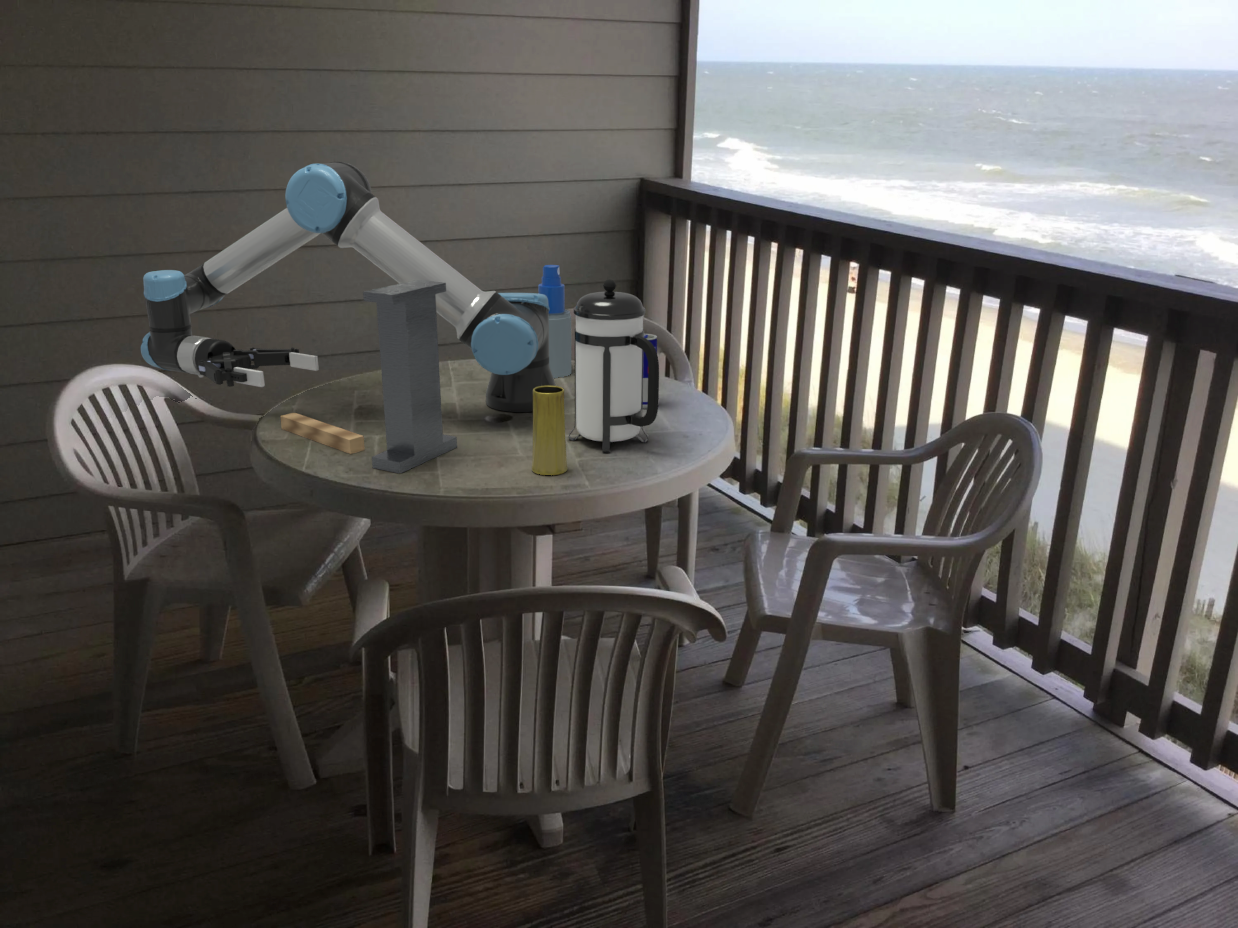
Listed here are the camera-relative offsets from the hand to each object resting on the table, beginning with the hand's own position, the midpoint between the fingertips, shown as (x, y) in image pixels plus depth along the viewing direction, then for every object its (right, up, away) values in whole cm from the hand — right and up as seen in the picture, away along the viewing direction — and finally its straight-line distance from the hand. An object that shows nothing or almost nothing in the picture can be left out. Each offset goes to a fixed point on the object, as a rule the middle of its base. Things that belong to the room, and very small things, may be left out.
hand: (290, 371), depth 183 cm
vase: (+49, -18, -13) cm, 54 cm away
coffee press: (+60, -13, +1) cm, 61 cm away
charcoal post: (+25, -16, -8) cm, 31 cm away
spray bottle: (+45, +4, +49) cm, 67 cm away
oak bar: (+5, -13, +1) cm, 14 cm away
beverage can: (+66, -5, +24) cm, 70 cm away
